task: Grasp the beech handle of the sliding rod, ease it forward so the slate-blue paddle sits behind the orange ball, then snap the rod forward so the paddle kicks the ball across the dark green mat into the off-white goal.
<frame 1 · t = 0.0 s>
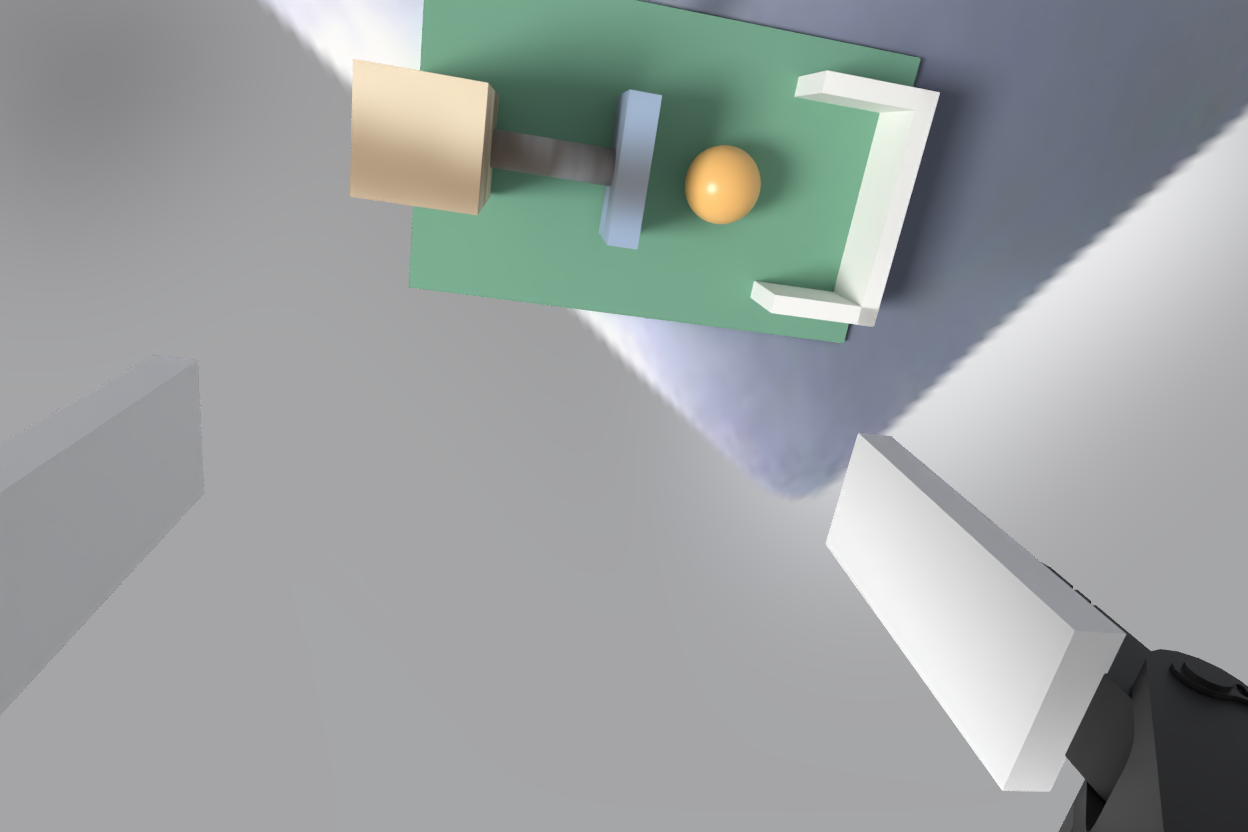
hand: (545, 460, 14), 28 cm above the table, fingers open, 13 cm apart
rod slider: (516, 153, 33), point 6 cm above the table, slide at 0.0 cm
ball: (722, 185, 38), point 2 cm above the table, touching pitch mat
goal: (820, 200, 41), resting on pitch mat
pitch mat: (659, 174, 40), on the table
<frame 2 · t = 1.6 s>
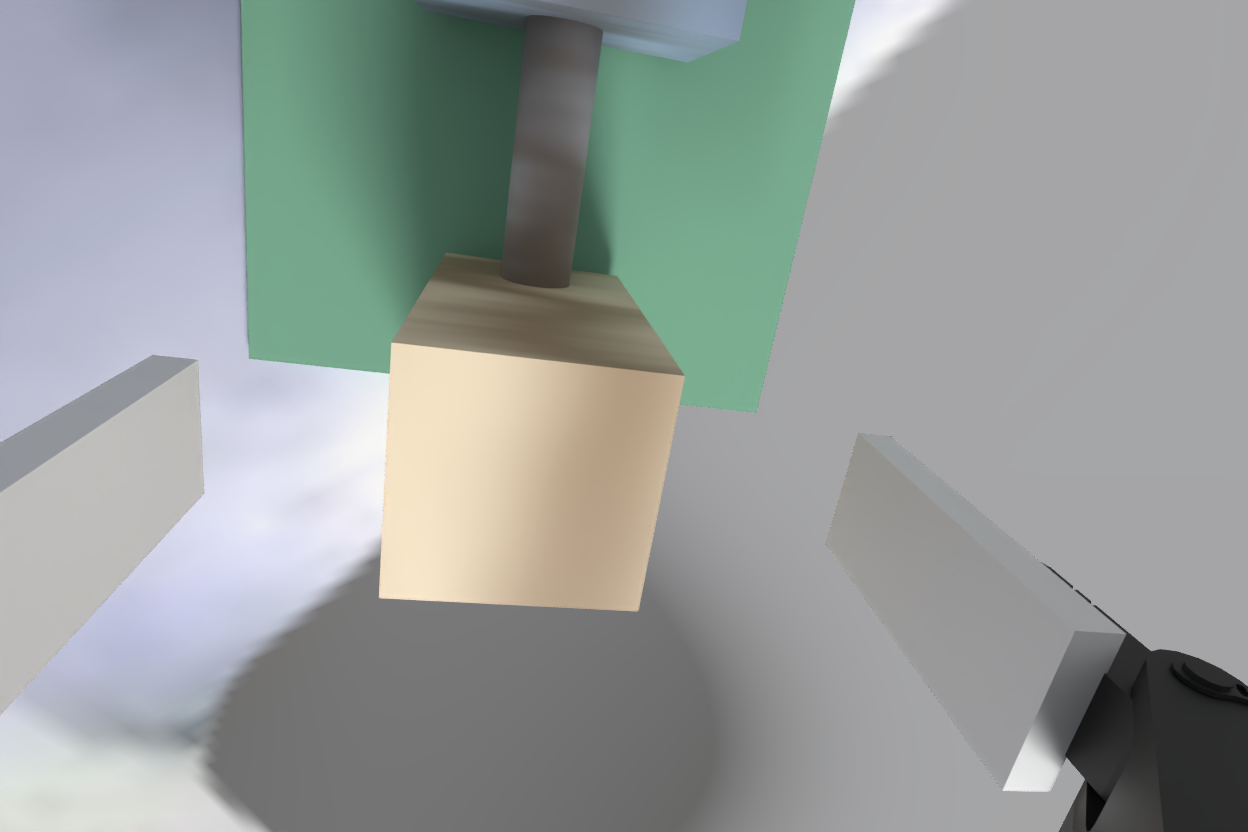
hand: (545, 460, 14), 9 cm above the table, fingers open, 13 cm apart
rod slider: (543, 245, 16), point 6 cm above the table, slide at 0.0 cm
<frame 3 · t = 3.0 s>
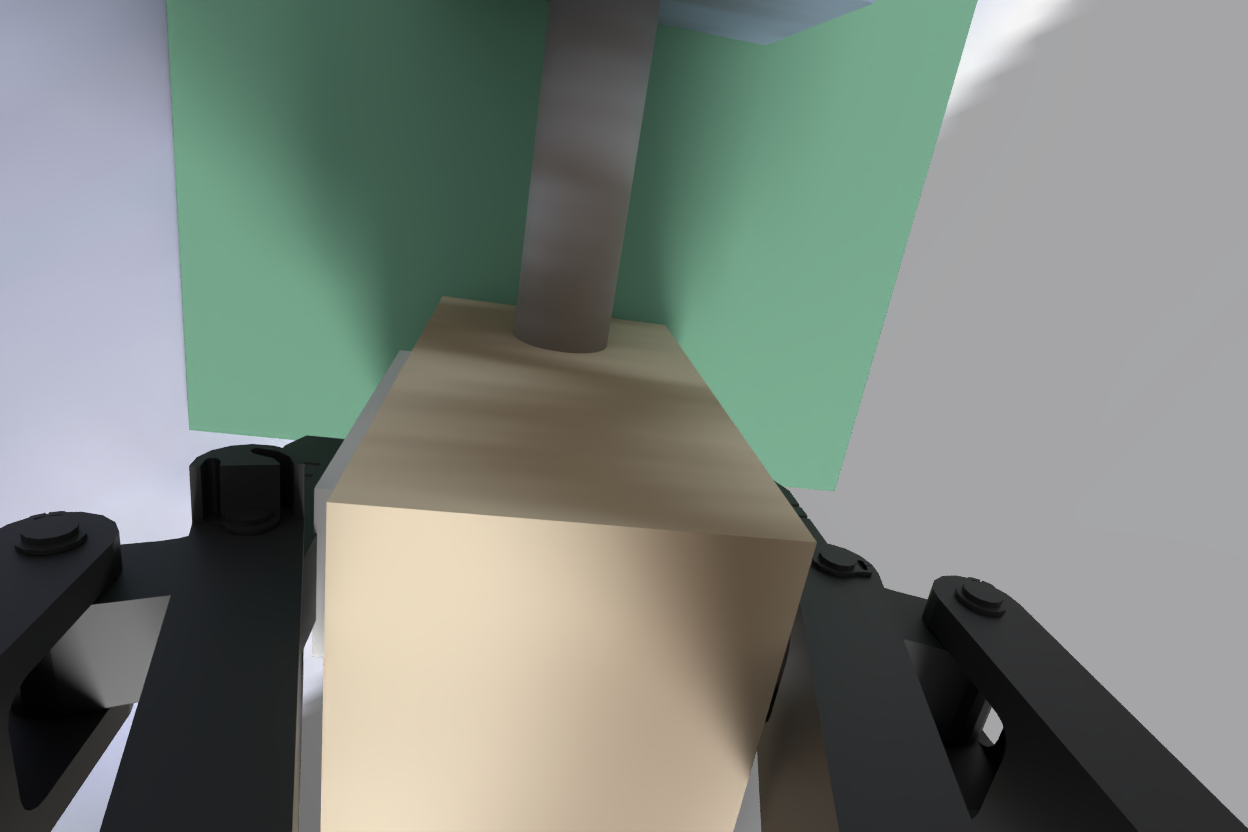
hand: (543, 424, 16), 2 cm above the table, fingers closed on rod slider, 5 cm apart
rod slider: (576, 301, 11), point 6 cm above the table, slide at 0.0 cm, touching gripper
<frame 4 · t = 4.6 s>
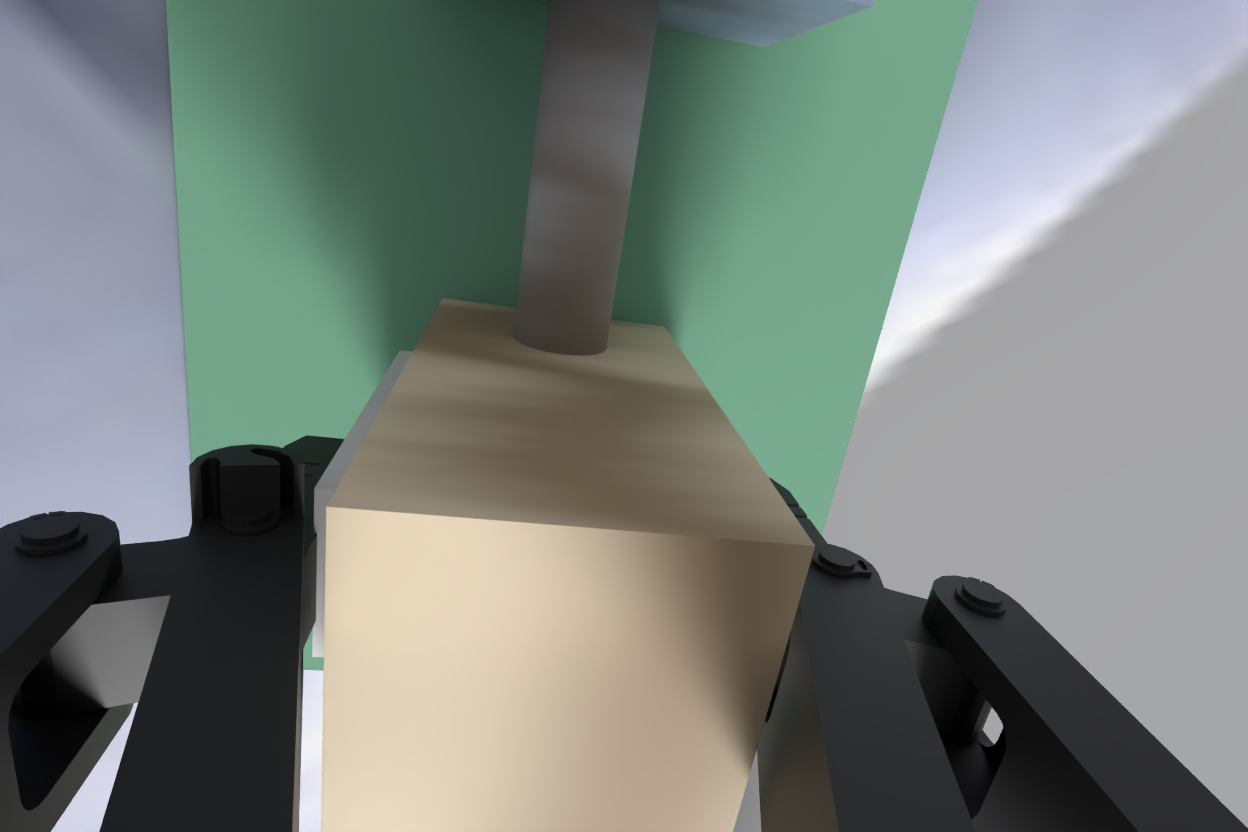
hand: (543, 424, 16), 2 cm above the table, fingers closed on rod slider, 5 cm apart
rod slider: (575, 304, 11), point 6 cm above the table, slide at 6.7 cm, touching gripper
pitch mat: (568, 203, 16), on the table
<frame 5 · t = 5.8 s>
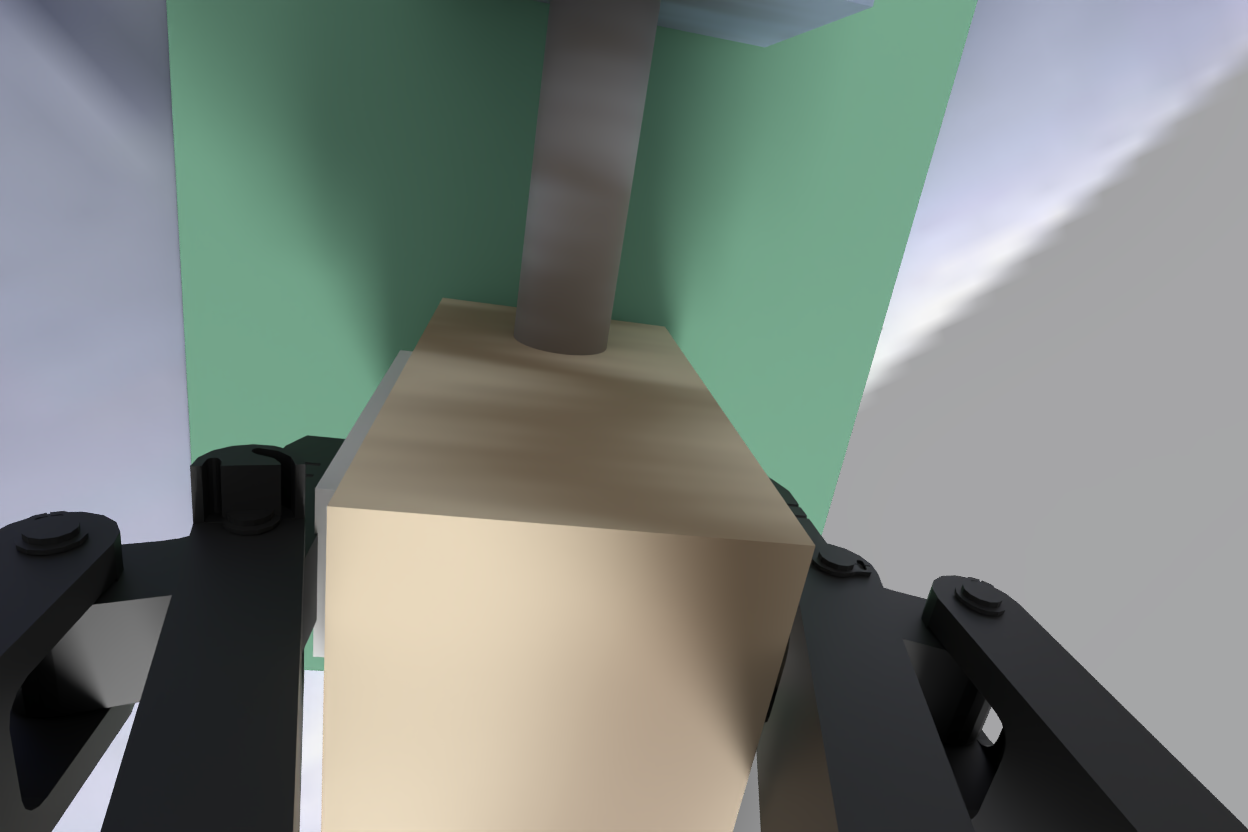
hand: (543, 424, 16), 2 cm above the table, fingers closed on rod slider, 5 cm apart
rod slider: (575, 304, 11), point 6 cm above the table, slide at 6.7 cm, touching gripper
pitch mat: (568, 204, 16), on the table
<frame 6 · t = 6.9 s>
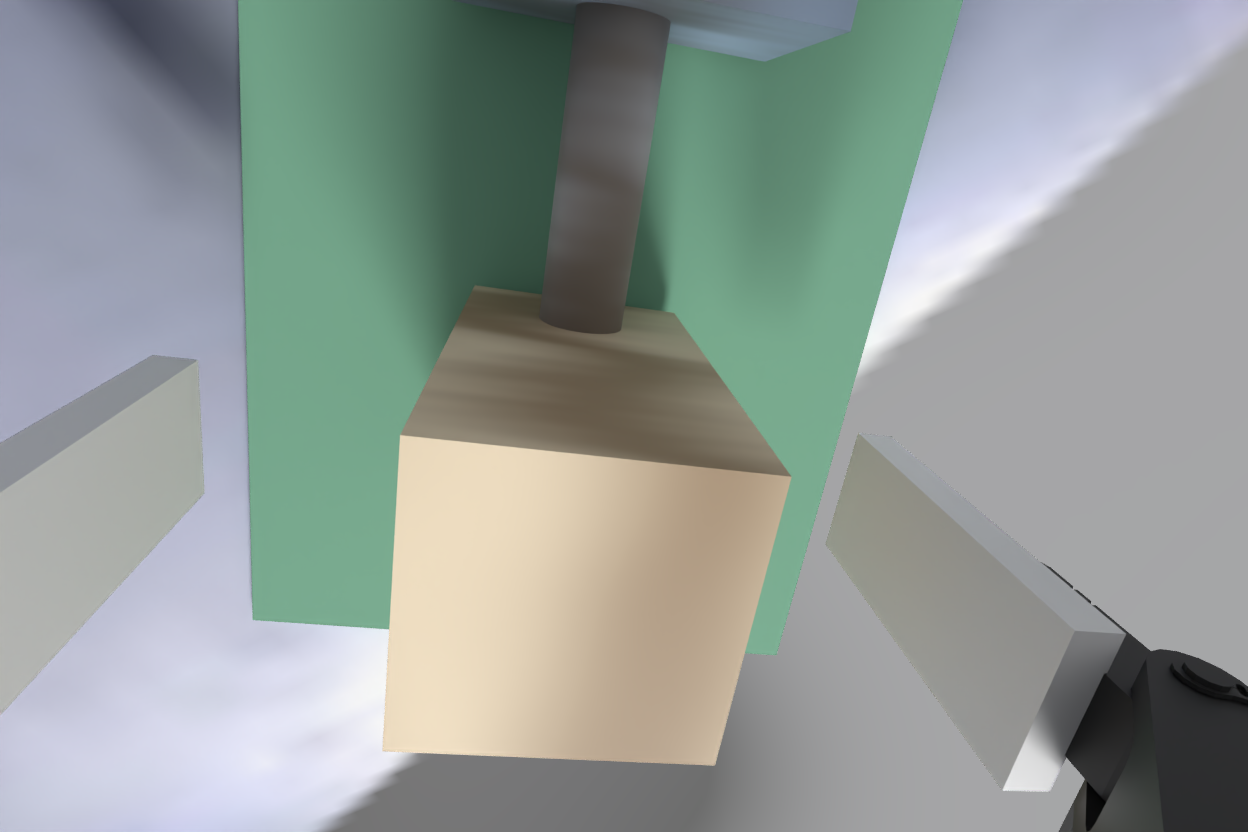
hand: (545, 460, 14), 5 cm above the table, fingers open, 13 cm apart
rod slider: (595, 286, 13), point 6 cm above the table, slide at 6.7 cm
pitch mat: (587, 202, 18), on the table
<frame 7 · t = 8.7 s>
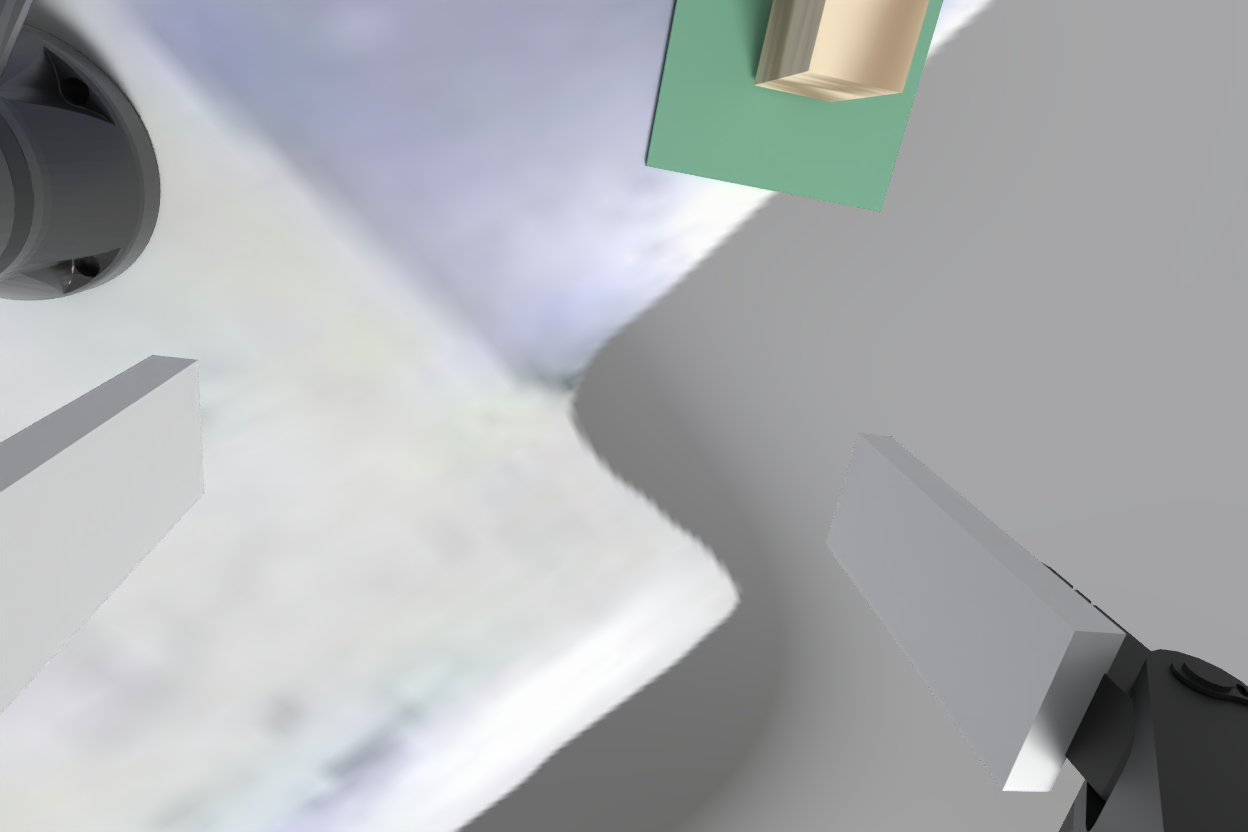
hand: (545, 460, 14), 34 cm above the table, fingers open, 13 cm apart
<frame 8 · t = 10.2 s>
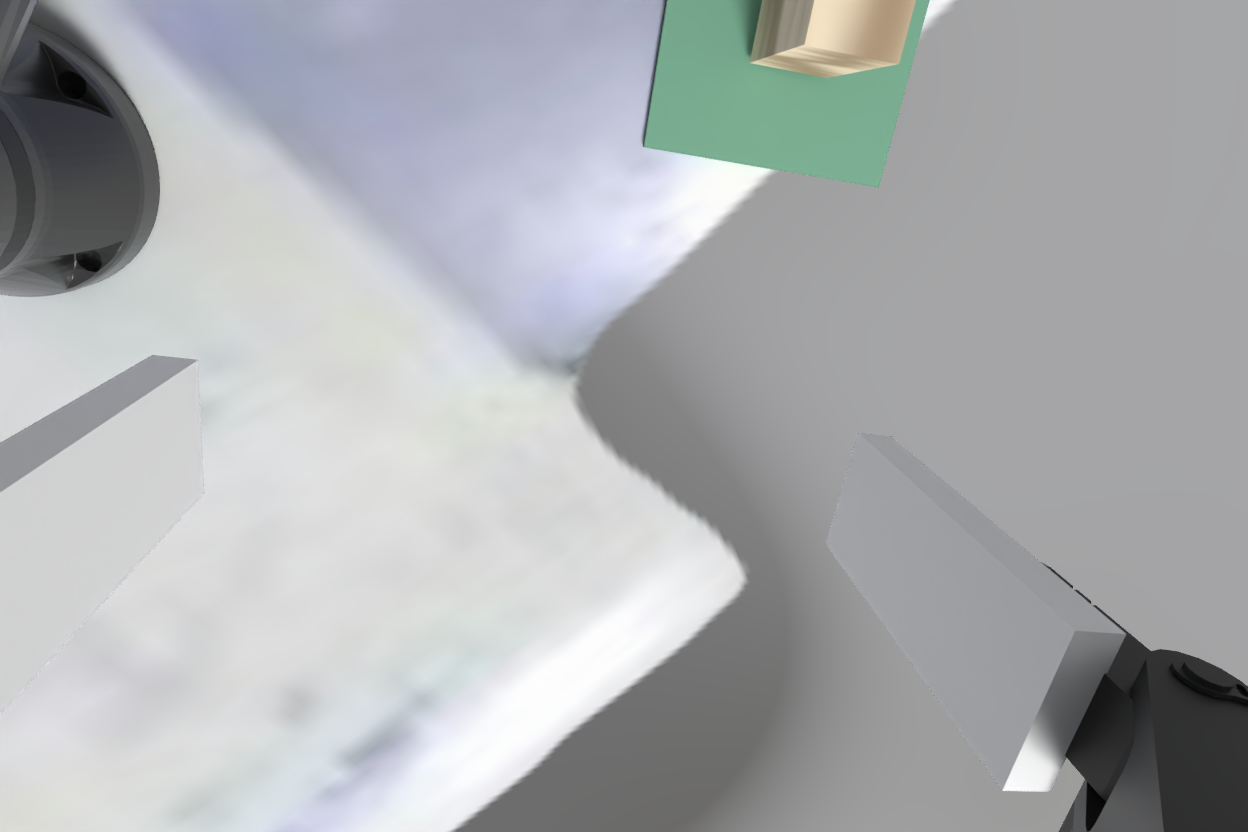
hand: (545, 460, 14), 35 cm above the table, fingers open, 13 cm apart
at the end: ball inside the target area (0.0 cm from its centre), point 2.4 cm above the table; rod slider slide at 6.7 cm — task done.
